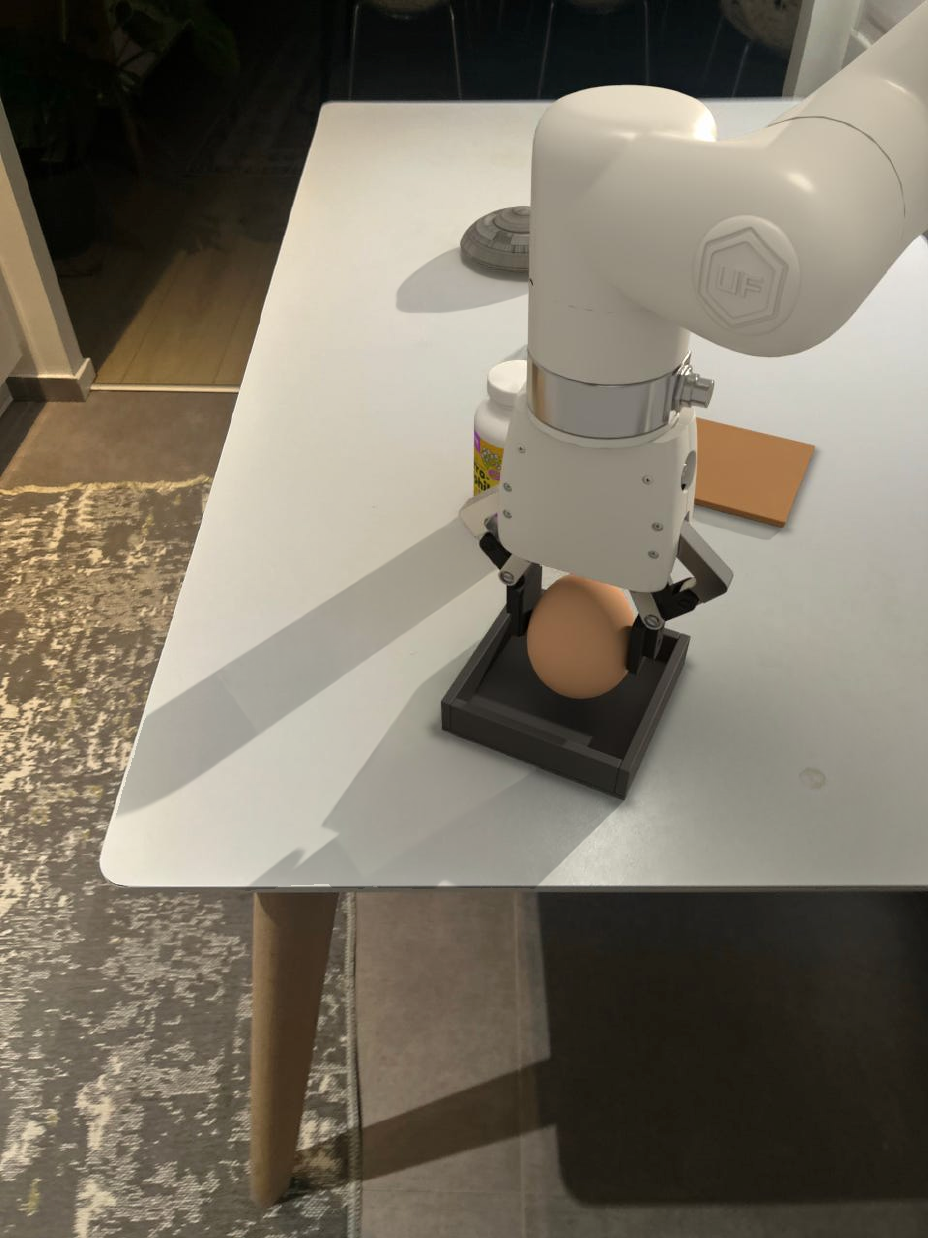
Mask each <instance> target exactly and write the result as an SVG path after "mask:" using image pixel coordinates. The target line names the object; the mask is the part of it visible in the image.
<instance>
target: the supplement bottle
mask: <svg viewBox="0 0 928 1238" xmlns="http://www.w3.org/2000/svg"><path fill="white" fill-rule="evenodd" d="M526 381H527V359H526V360H525V359H516V360H514V359H513V360H507V361H503V362H500V363H497V364H496V365H495V366H493V367H492V368H491V369H490V370H488V373H487V380H486V391H487V394H488V396H486V397H485V398H484V399H483V400H481V402H480V403H479V404H478V406H477V407H476V410H475V412H474V417H473V497H474V496H475V495H477V494H479V493H481V492H483V491H485V490H487V489H489V488H491V487H493V486H495V485H496V484H498V483H500V473H501V466H502V459H503V453H504V447H505V442H506V437H507V432H508V427H509V422H510V418H511V414H512V410H513V406H514V403H515V399H516V396H517V394H518V392H519V391H520V390H521V388H522V386H523V384H524V383H525V382H526ZM497 514H498V513H497ZM497 514H495V515H494V516H495V517H496V519H497Z"/></svg>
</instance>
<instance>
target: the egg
mask: <svg viewBox="0 0 928 1238" xmlns="http://www.w3.org/2000/svg"><path fill="white" fill-rule="evenodd" d="M545 590H546V591H545V592H544V593H543V595H542V596H541V598H540V599H539V600H538V602H537V604H536V605H535V607H534V609H533V612H532V614H531V617H530V620H529V625H528V631H527V648H528V655H529V658H530V661H531V664H532V666H533V669H534V670H535V672H536V674H537V675H538V677H539V678H540V679H541V680H542V681H543V682H544V683H545V684H546V685H547V686H548V687H550V688H551V689H552V690H553V691H555V692H557V693H559V694H560V695H563V696H567V697H570V698H577V699H585V698H593V697H597V696H600V695H602V694H604V693H606V692H608V691H610V690H611V689H612V688H614V687H615V686H616V685H617V684H619V682H620V681H621V680H622V679H623V678H624V677H625V675H626V674H627V672H628V670H626V664H627V657H628V649H629V642H630V635H631V628H632V625H633V623H634V621H635V618H636V617H635V614H634V611H633V609H632V607H631V605H630V603H629V601H628V599H627V597H626V595H625V594H624V592H623V591H622V590H621V588H620V587H616V586H612V585H609V584H605V583H601V582H598V581H594V580H591V579H587V578H584V577H581V576H577V575H574V574H570V573H567V574H565V575H563V576H561V577H559V578H557V579H556V580H555V581H554V582H553V583H551V585H549V586H548V587H547V588H546V589H545Z"/></svg>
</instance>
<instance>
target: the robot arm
mask: <svg viewBox="0 0 928 1238" xmlns="http://www.w3.org/2000/svg"><path fill="white" fill-rule="evenodd" d="M531 148H532V149H531V162H530V164H531V165H530V166H531V167H530V248H529V272H528V299H527V300H528V302H527V306H528V307H527V347H526V361H527V381H526V382H525V383H524V384H523V386H522V388H521V390H520V391H519V392H518V394H517V396H516V399H515V403H514V406H513V410H512V414H511V418H510V422H509V427H508V432H507V437H506V442H505V447H504V453H503V459H502V466H501V473H500V483H498V484H496V485H495V486H493V487H491V488H489V489H487V490H485V491H483V492H481V493H479V494H477V495H475V496H474V495H473V496H472V497H470V498H468V500H467V501H466V502H465V503H464V504H463V506H462V507H461V508H460V509H459V510H458V513H457V515H458V518H459V519H460V521H461V522H462V523H463V524H464V526H465V527H466V528H467V529H468V531H469V532H470V534H472V536H473V537H474V538H475V539H476V538H477V539H478V541H479V542H478V545H479V548H480V550H481V551H482V552H483V553H484V554H485V555H486V556H487V558H488V559H489V560H490V561H491V562H492V564H494V565H495V567H496V568H497V569H498V570H499V571H498V573H497V576H498V579H499V581H500V582H501V583H502V584H503V585H505V587H506V589H505V590H506V591H505V592H506V593H505V597H506V598H505V599H506V600H505V601H506V602H505V605H506V612H507V613H509V614H511V635H514V636H517V637H520V636H524V634H525V633H526V631H527V630H528V625H529V620H530V617H531V614H532V612H533V609H534V607H535V605H536V604H537V602H538V600H539V599H540V598H541V590H542V589H543V587H542V586H543V566H544V567H547V568H550V569H553V570H557V571H560V572H564V573H567V574H574V575H577V576H581V577H584V578H587V579H591V580H594V581H598V582H601V583H605V584H609V585H612V586H616V587H618V588H619V589H624V590H627V591H628V592H629V595H630V596H631V599H632V601H633V604H634V605H635V608H636V610H637V613H638V614H637V615H636V617H635V618H636V619H635V621H634V623H633V625H632V628H631V635H630V642H629V649H628V657H627V664H626V670H628V673H631V674H634V675H637V674H638V672H639V670H640V668H641V666H642V664H643V662H644V660H645V658H646V657H648V658H651V659H655V658H656V656H657V654H658V652H659V649H660V646H661V643H662V639H663V633H664V628H666V627H665V626H666V622H668V621H671V620H673V619H677V618H678V617H682V616H684V615H686V614H689V613H691V612H693V611H694V610H696V608H697V606H699V605H702V604H706V603H708V602H710V601H712V600H715V599H717V598H718V597H721V596H723V595H725V594H726V593H727V592H728V590H729V587H730V586H731V583H732V581H733V578H734V571H733V570H732V569H731V568H730V567H729V566H728V564H727V563H726V562H725V561H724V560H723V559H722V558H721V557H720V555H719V554H718V553H717V552H716V551H715V550H714V549H713V547H712V546H710V545H709V543H707V541H706V540H705V539H704V538H703V537H702V536H701V535H700V534H699V532H697V530H696V529H695V528H694V527H693V525H692V523H693V517H694V507H695V504H694V497H695V486H696V472H697V426H696V417H697V415H696V410H695V407H697V408H698V407H699V408H702V409H708V407H709V405H710V403H711V401H712V396H713V395H714V394H713V393H714V389H715V379H711V378H705V377H701V376H700V373H697V372H696V373H695V372H693V365H692V364H691V359H692V351H691V350H689V346H690V339H691V333H692V334H694V335H696V336H698V337H700V338H702V339H703V340H706V341H708V342H710V343H712V344H714V345H716V346H719V347H721V348H725V349H727V350H730V351H732V352H735V353H739V354H742V355H746V356H751V357H757V358H759V357H760V358H782V357H787V356H793V355H797V354H801V353H803V352H807V351H808V350H811V349H812V348H814V347H816V346H818V345H820V344H822V343H823V342H826V340H828V339H829V338H831V337H832V336H833V335H834V334H835V333H837V332H838V331H839V330H840V329H841V328H842V327H843V326H845V324H847V322H848V321H849V320H850V319H851V318H852V317H853V315H854V314H856V312H857V311H858V310H859V308H860V307H861V306H862V304H863V303H864V302H865V301H866V299H867V298H868V297H869V296H870V294H871V293H872V292H873V290H874V289H875V288H876V287H877V286H878V284H879V283H880V282H881V281H882V279H883V278H884V277H885V275H886V274H887V273H888V271H889V270H890V269H891V268H892V266H893V265H894V264H895V262H897V260H898V259H899V258H900V257H901V255H902V254H903V253H904V252H905V251H906V250H907V249H908V247H909V246H910V245H911V244H912V243H913V242H914V240H917V238H918V237H920V236H921V235H922V234H924V233H925V232H926V231H928V0H924V1H923V2H922V3H921V4H919V5H918V6H916V8H915V9H913V10H912V11H911V12H910V13H909V14H908V15H907V16H905V17H904V18H903V19H902V20H900V21H899V22H898V23H896V25H894V26H893V27H892V28H890V29H889V30H888V31H887V32H885V34H883V35H882V36H881V37H880V38H878V39H877V40H876V41H875V42H874V43H872V44H871V45H870V46H869V47H868V48H867V49H865V50H864V51H863V52H862V53H861V54H859V55H858V56H857V57H856V58H854V59H853V60H852V61H850V63H849V64H847V65H846V66H844V67H843V68H841V70H840V71H838V72H837V73H836V74H834V75H833V76H832V77H831V78H829V79H828V80H827V81H826V82H824V83H823V84H822V85H821V86H820V87H818V88H817V89H815V90H814V91H813V92H812V93H810V94H809V95H807V97H805V98H804V99H802V100H801V101H800V102H798V103H797V104H795V105H793V106H792V107H790V108H788V109H787V110H786V111H784V112H783V113H782V114H780V115H779V116H777V117H776V118H775V119H774V120H772V121H771V122H769V123H768V124H766V125H765V126H764V127H762V128H760V129H757V130H754V131H751V132H748V133H744V134H742V135H738V136H735V137H732V138H727V139H722V140H719V131H718V127H717V122H716V121H715V118H714V117H713V114H712V112H711V111H710V110H709V108H708V107H706V106H705V104H704V103H702V102H701V101H700V100H699V99H697V98H695V97H693V96H690V95H688V94H685V93H682V92H680V91H677V90H673V89H669V88H664V87H658V86H651V85H650V86H649V85H639V84H638V85H637V84H621V85H618V84H616V85H603V86H597V87H596V86H595V87H590V88H586V89H585V88H584V89H582V90H578V91H576V92H572V93H569V94H566V95H564V96H562V97H560V98H558V99H557V100H556V101H554V102H553V103H552V104H551V105H549V106H548V107H547V108H546V109H545V111H544V112H543V113H542V115H541V116H540V118H539V119H538V122H537V124H536V127H535V130H534V133H533V138H532V147H531ZM497 513H498V514H497ZM495 514H497V519H496V517H495V516H494V515H495ZM676 559H677V560H678V561H679V562H680V563H681V564H682V566H684V568H685V569H687V571H688V572H689V573H690V574H691V575H692V576H693V577H692V576H689V577H686V578H684V579H681V580H678V581H677V582H674V581H673V579H672V577H671V574H672V572H673V569H674V567H675V563H676Z"/></svg>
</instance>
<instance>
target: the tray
mask: <svg viewBox="0 0 928 1238" xmlns="http://www.w3.org/2000/svg"><path fill="white" fill-rule="evenodd" d="M546 590H547V589H545V588H542V590H541V596H542V595H543V593H544V592H545V591H546ZM635 619H636V617H635ZM527 631H528V630H527ZM527 631H526V633H525V634H524V636H520V637H517V636H514V635H511V614H509V613H507V612H506V604H504V606H503V608H502V609H501V610H500V612H499V614H498V615H497V617H496V618H495V619H494V621H493V622H492V624H491V625H490V627H489V628H488V630H487V631H486V633H485V635H484V636H483V637H482V638H481V640H480V641H479V643H478V645H477V646H476V648H475V649H474V651H473V652H472V654H471V655H470V657H469V658H468V660H467V661H466V663H465V664H464V666H463V667H462V669H461V670H460V672H459V673H458V675H457V676H456V678H455V680H454V681H453V682H452V684H450V686H449V688H448V690H447V691H446V693H445V694H444V696H443V697H442V699H441V700H440V718H441V719H440V720H441V721H440V723H441V727H440V728H441V730H442V731H444V732H447V733H449V734H452V735H454V736H457V737H459V738H462V739H466V740H467V741H470V742H473V743H475V744H478V745H480V746H483V747H485V748H488V749H491V750H493V751H496V752H499V753H501V754H504V755H506V756H509V757H512V758H514V759H516V760H519V761H522V762H525V763H527V764H529V765H532V766H534V767H537V768H540V769H542V770H545V771H548V772H550V773H553V774H555V775H558V776H560V777H563V778H566V779H567V780H568V779H569V780H571V781H573V782H576V783H579V784H581V785H583V786H586V787H589V788H592V789H594V790H596V791H598V792H599V791H600V792H602V793H605V794H607V795H610V796H613V797H614V798H618V799H620V800H622V801H625V800H626V798H627V796H628V794H629V791H630V789H631V787H632V785H633V783H634V779H635V778H636V775H637V773H638V771H639V769H640V766H641V764H642V762H643V759H644V757H645V755H646V753H647V751H648V749H649V746H650V743H651V741H652V739H653V736H654V734H655V732H656V730H657V728H658V726H659V723H660V721H661V719H662V716H663V714H664V713H665V709H666V707H667V705H668V703H669V700H670V698H671V696H672V694H673V691H674V689H675V687H676V684H677V682H678V680H679V678H680V675H681V673H682V671H683V668H684V666H685V664H686V660H687V659H686V658H687V655H688V650H689V646H690V642H691V638H692V637H691V635H689V634H686V633H683V632H679V631H677V630H674V629H670V628H667V627H664V633H663V639H662V643H661V646H660V649H659V652H658V654H657V656H656V658H655V659H651V658H648V657H646V658H645V660H644V662H643V664H642V666H641V668H640V670H639V672H638V674H637V675H634V674H631V673H628V672H627V674H626V675H625V677H624V678H623V679H622V680H621V681H620V682H619V684H617V685H616V686H615V687H614V688H612V689H611V690H610V691H608V692H606V693H604V694H602V695H600V696H597V697H593V698H585V699H577V698H570V697H567V696H563V695H560V694H559V693H557V692H555V691H553V690H552V689H551V688H550V687H548V686H547V685H546V684H545V683H544V682H543V681H542V680H541V679H540V678H539V677H538V675H537V674H536V672H535V670H534V669H533V666H532V664H531V661H530V658H529V655H528V648H527Z"/></svg>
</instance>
